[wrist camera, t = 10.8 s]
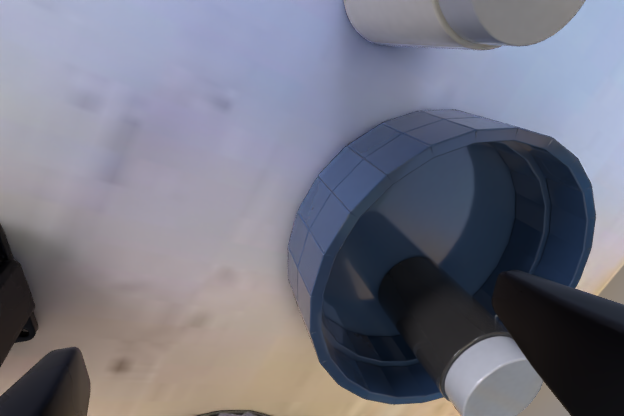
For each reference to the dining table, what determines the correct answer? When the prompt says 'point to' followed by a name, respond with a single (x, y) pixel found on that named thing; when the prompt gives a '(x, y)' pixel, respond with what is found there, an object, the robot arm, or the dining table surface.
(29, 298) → the robot arm
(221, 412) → the lantern
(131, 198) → the dining table surface
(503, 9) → the salt shaker
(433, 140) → the bowl
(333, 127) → the dining table surface
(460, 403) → the pepper shaker
